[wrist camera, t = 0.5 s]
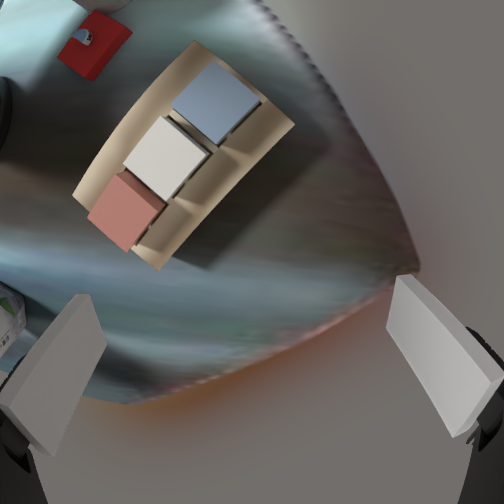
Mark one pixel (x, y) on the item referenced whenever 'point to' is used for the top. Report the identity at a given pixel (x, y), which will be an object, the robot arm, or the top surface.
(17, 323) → the juice carton
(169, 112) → the frame
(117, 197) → the red key
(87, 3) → the grey cylinder
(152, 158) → the white key
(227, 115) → the blue key
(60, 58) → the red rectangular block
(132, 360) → the top surface
